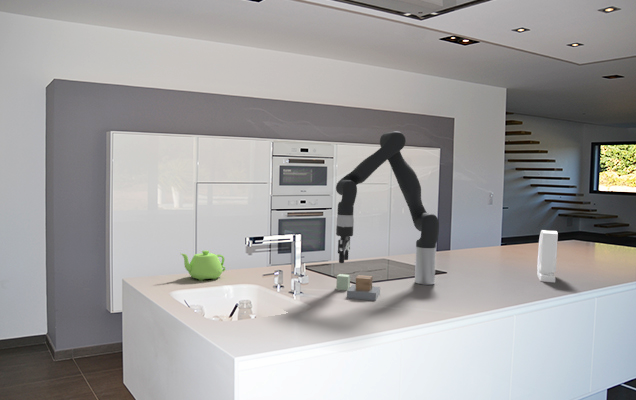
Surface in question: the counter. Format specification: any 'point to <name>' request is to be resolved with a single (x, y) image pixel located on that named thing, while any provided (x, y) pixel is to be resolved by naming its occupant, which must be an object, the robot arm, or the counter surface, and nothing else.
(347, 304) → the counter surface
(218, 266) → the teapot
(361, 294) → the slate trivet
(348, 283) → the sage block
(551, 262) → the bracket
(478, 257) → the counter surface
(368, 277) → the walnut block
